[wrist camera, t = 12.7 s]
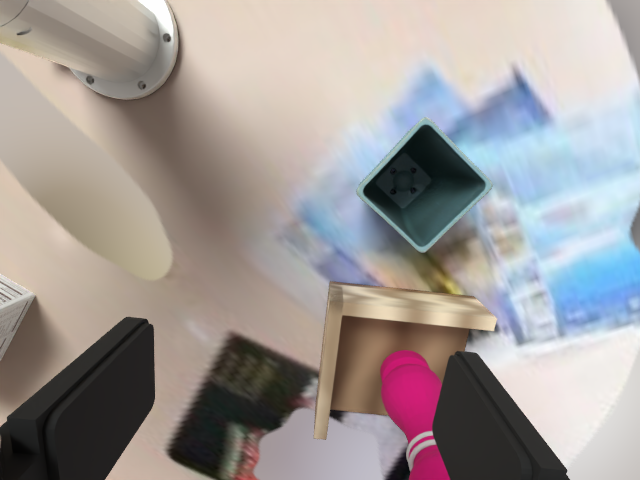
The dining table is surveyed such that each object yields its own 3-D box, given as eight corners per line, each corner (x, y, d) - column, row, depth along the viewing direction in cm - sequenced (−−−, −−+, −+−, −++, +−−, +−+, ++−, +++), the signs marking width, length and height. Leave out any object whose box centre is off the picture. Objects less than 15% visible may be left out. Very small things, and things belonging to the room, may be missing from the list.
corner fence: (315, 407, 44) (313, 438, 40) (329, 283, 40) (329, 300, 35) (447, 421, 44) (462, 454, 40) (476, 299, 40) (496, 318, 35)
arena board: (315, 403, 45) (315, 407, 44) (329, 281, 41) (329, 283, 40) (445, 417, 45) (447, 421, 44) (473, 296, 41) (476, 299, 40)
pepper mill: (419, 337, 41) (499, 495, 22) (440, 382, 43) (531, 567, 24) (367, 358, 42) (399, 527, 23) (389, 402, 44) (436, 595, 24)
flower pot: (402, 234, 39) (422, 256, 31) (348, 184, 38) (353, 192, 29) (457, 179, 38) (496, 185, 29) (402, 124, 36) (425, 114, 28)
